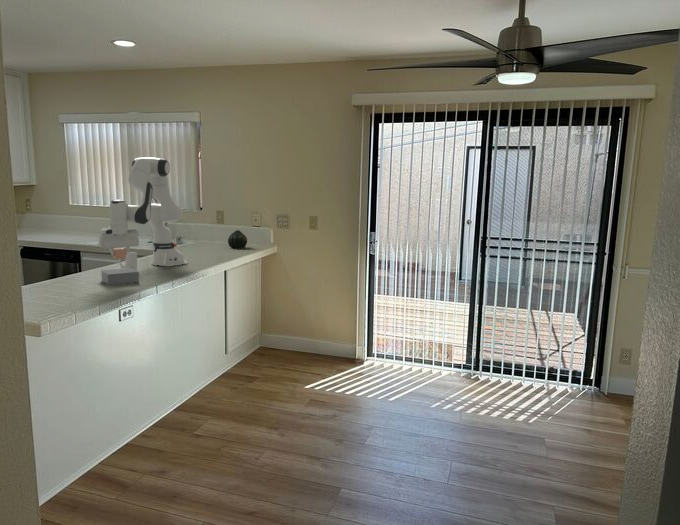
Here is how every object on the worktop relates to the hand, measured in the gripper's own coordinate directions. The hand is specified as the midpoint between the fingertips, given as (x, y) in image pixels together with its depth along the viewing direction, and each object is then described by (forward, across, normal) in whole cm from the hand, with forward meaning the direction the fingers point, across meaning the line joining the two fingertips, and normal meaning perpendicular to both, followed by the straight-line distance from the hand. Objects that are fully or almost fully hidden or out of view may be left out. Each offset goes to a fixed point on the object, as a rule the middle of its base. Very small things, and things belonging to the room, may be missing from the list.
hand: (119, 255), depth 281 cm
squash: (+15, -113, -79) cm, 139 cm away
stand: (+15, 0, 0) cm, 15 cm away
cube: (+2, 0, 0) cm, 2 cm away
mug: (+15, -11, -22) cm, 29 cm away
